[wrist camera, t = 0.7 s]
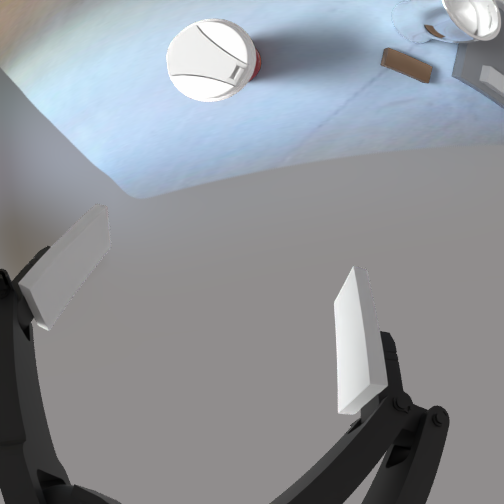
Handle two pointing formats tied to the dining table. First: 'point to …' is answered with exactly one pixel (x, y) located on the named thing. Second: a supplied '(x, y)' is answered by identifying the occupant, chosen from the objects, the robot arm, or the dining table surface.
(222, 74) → the paper cup
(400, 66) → the twin wooden blocks
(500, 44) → the grey tray with risers
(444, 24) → the beer glass
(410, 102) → the dining table surface
